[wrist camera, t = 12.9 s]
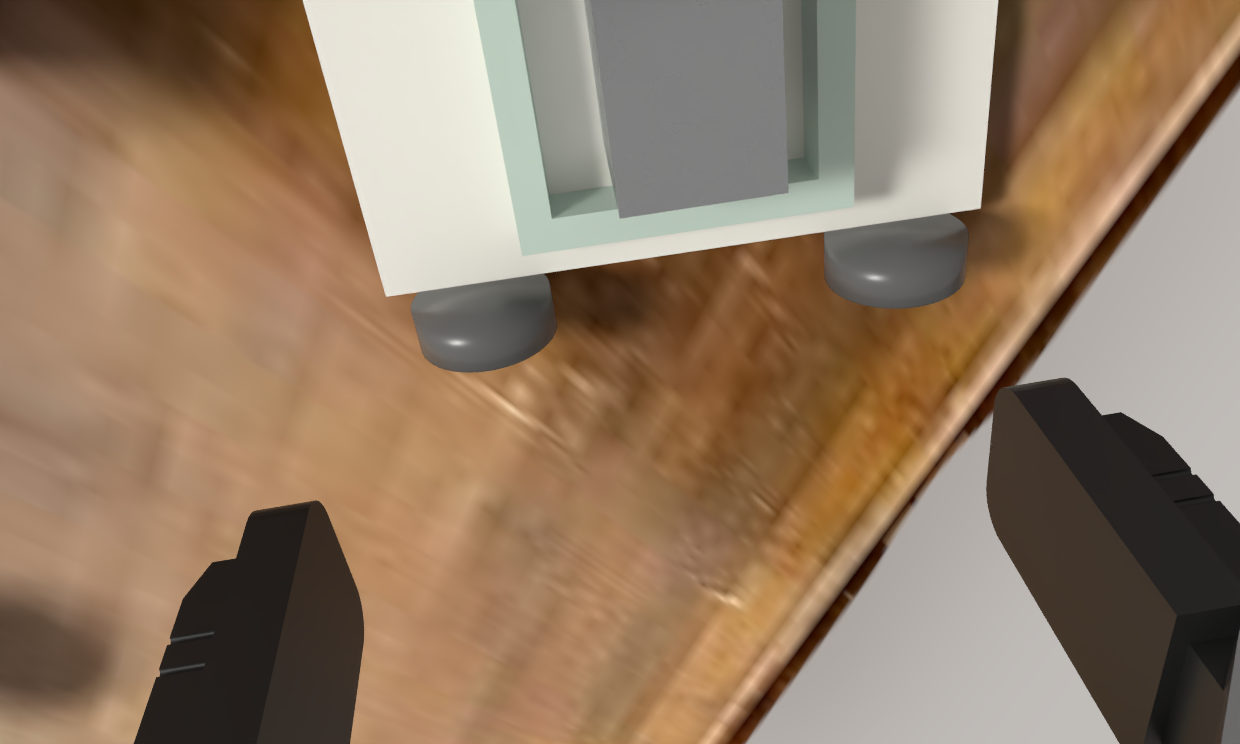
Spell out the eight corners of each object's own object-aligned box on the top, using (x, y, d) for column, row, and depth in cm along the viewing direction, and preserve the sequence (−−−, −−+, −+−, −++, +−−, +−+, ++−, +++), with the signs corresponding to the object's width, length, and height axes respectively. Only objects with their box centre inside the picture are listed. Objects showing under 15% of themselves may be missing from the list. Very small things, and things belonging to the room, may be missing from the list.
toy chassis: (239, -271, 29) (193, -267, 25) (1008, -380, 29) (1091, -395, 25) (400, 313, 39) (387, 385, 35) (962, 230, 40) (1015, 291, 35)
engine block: (573, -74, 31) (586, -32, 26) (736, -98, 31) (780, -61, 26) (603, 145, 35) (619, 218, 30) (748, 123, 35) (788, 192, 30)
